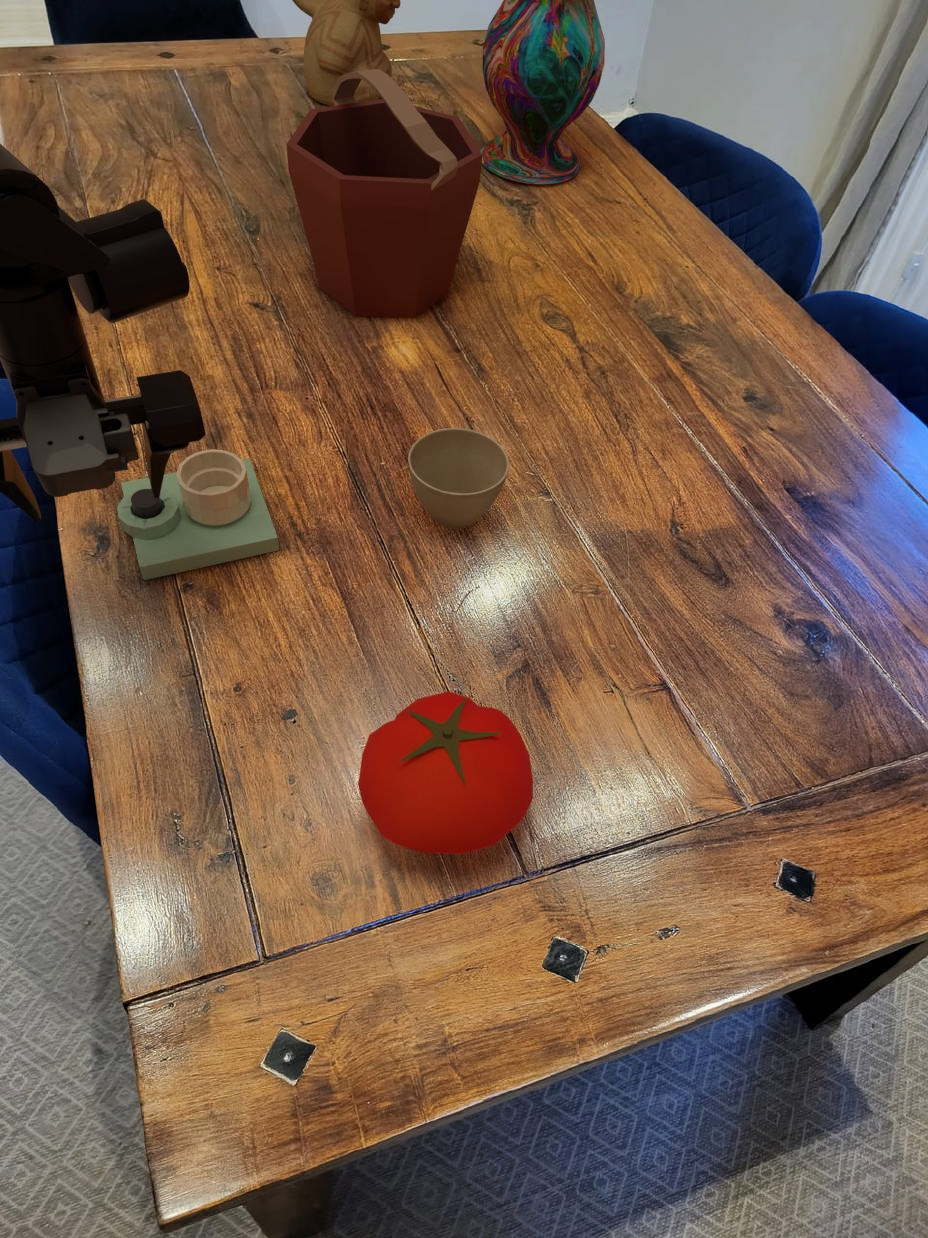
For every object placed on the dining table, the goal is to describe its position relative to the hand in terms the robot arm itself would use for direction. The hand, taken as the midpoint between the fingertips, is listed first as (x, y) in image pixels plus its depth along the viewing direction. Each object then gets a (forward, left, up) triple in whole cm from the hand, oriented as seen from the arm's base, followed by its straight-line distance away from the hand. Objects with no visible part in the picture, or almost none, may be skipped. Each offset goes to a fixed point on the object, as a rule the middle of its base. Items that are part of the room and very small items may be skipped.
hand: (98, 506), depth 72 cm
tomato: (+20, -29, -12) cm, 37 cm away
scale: (+8, +8, -12) cm, 16 cm away
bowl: (+10, +8, -10) cm, 16 cm away
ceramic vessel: (+52, +105, -12) cm, 118 cm away
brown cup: (+33, +2, -12) cm, 35 cm away
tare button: (+3, +8, -9) cm, 12 cm away
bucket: (+39, +45, -12) cm, 61 cm away
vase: (+74, +74, -12) cm, 105 cm away
